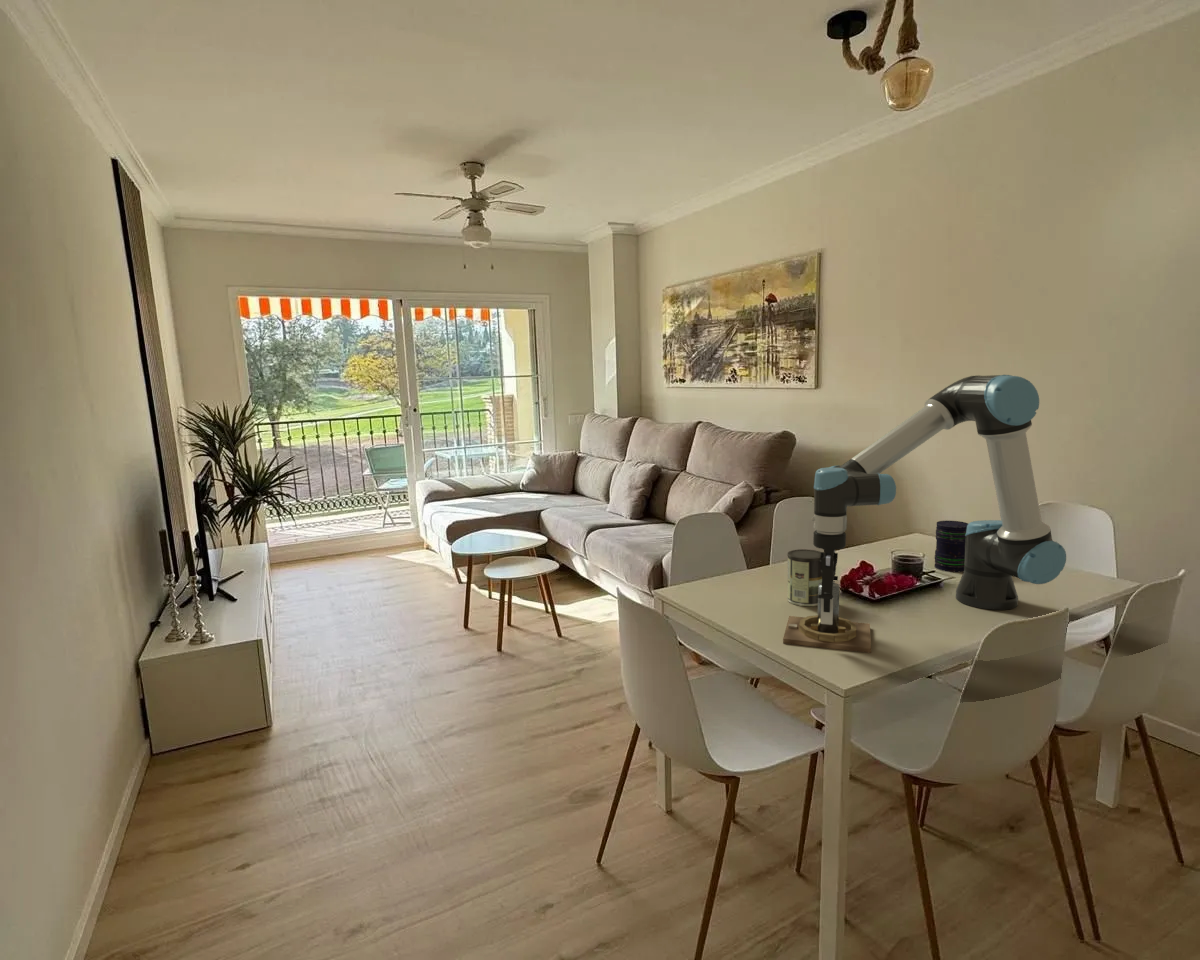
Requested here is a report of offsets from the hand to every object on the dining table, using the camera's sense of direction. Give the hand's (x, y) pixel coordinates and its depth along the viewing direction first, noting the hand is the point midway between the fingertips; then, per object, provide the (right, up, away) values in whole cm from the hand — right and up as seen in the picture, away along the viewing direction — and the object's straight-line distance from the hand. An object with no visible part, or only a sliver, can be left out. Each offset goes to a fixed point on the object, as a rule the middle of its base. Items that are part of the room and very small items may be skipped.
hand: (827, 614), depth 163 cm
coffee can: (+3, -2, +26) cm, 27 cm away
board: (0, -6, +1) cm, 6 cm away
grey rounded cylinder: (0, -4, +1) cm, 4 cm away
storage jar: (+59, +4, +52) cm, 79 cm away
